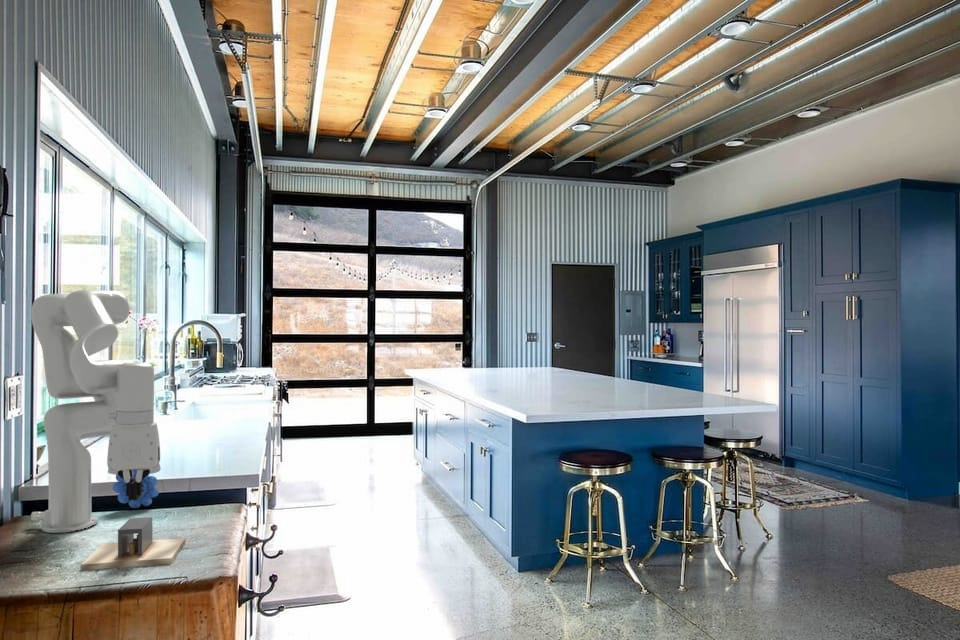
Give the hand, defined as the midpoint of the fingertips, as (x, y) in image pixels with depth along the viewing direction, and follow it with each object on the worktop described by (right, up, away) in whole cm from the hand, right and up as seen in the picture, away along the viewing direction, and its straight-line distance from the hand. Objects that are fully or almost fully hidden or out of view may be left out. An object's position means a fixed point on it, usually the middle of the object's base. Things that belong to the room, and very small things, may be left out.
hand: (134, 498), depth 154 cm
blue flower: (-19, -13, +38) cm, 45 cm away
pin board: (+1, -13, 0) cm, 13 cm away
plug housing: (+1, -11, 0) cm, 11 cm away
